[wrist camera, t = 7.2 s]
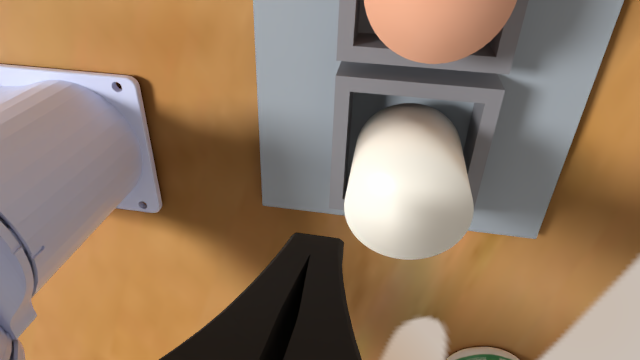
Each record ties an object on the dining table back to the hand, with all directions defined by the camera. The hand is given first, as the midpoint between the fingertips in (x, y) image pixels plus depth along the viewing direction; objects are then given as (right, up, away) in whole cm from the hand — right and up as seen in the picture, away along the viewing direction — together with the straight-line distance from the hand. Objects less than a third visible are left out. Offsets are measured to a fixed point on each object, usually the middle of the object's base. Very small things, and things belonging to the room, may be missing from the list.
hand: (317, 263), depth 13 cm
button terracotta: (+4, +10, +4) cm, 12 cm away
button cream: (+4, +3, +7) cm, 9 cm away
